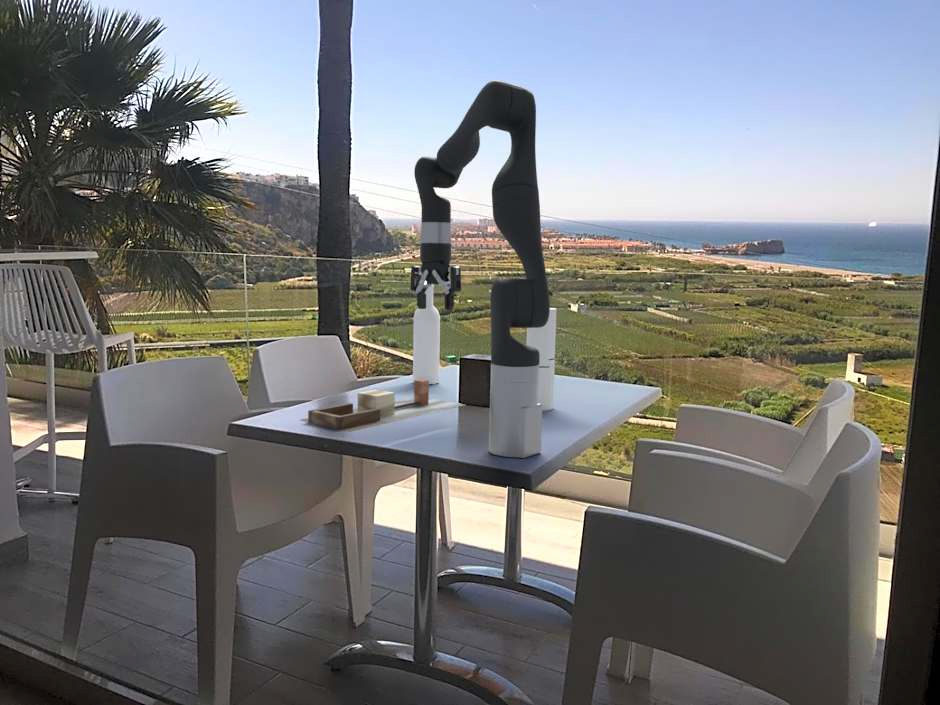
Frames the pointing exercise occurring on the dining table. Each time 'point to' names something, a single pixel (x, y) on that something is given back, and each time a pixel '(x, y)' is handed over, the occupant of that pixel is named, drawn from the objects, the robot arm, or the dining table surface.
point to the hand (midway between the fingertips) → (435, 309)
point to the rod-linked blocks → (392, 399)
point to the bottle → (426, 341)
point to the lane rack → (372, 414)
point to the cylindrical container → (545, 358)
